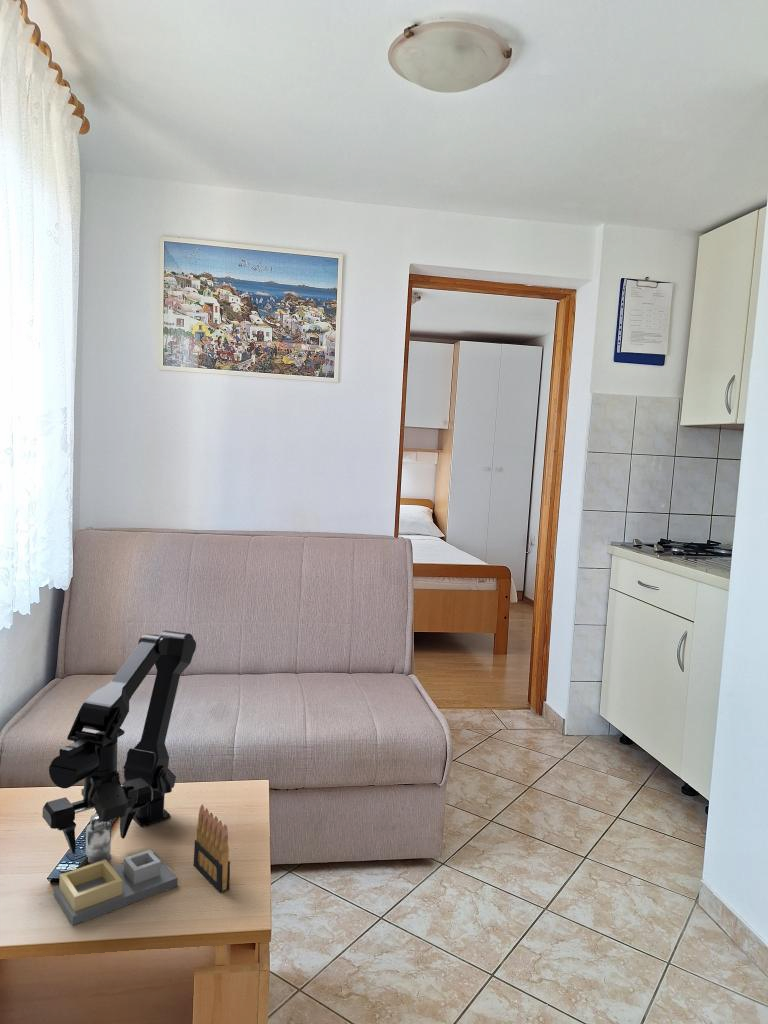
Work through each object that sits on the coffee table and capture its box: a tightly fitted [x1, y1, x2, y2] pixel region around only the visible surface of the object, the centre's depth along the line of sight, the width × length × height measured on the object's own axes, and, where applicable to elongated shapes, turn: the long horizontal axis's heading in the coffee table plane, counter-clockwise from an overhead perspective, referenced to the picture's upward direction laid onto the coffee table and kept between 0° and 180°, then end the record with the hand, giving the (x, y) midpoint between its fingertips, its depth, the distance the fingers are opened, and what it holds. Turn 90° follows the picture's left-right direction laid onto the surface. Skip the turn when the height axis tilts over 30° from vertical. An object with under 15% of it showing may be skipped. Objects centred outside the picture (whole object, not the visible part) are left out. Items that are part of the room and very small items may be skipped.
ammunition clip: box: [192, 804, 231, 894], centre depth 128 cm, size 11×2×12 cm, turn 41°
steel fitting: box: [85, 812, 112, 865], centre depth 133 cm, size 4×4×8 cm
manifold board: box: [53, 849, 179, 926], centre depth 123 cm, size 10×18×4 cm, turn 131°
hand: (98, 845), depth 133 cm, fingers open, 9 cm apart
